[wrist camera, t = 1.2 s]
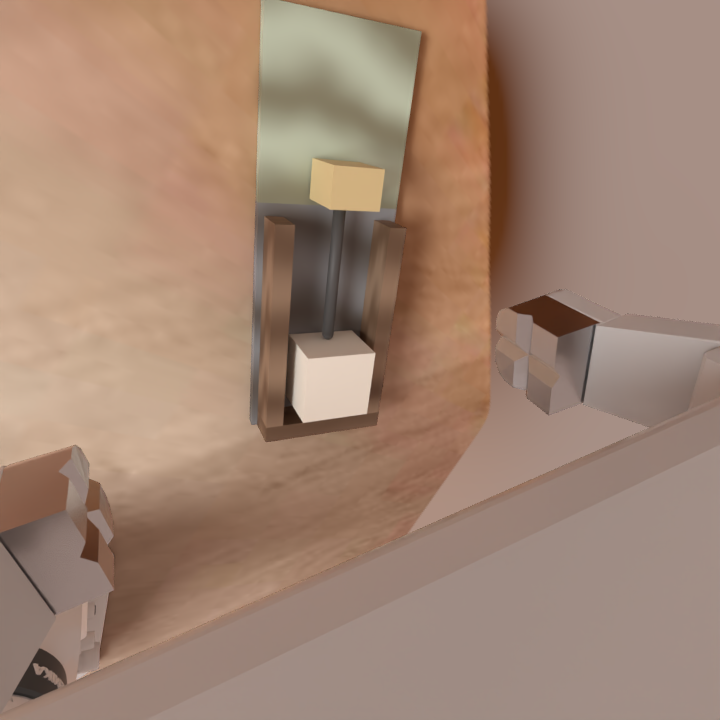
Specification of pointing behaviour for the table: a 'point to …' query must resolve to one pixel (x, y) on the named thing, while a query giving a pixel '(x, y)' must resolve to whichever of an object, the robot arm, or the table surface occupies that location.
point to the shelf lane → (310, 219)
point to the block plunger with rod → (334, 307)
